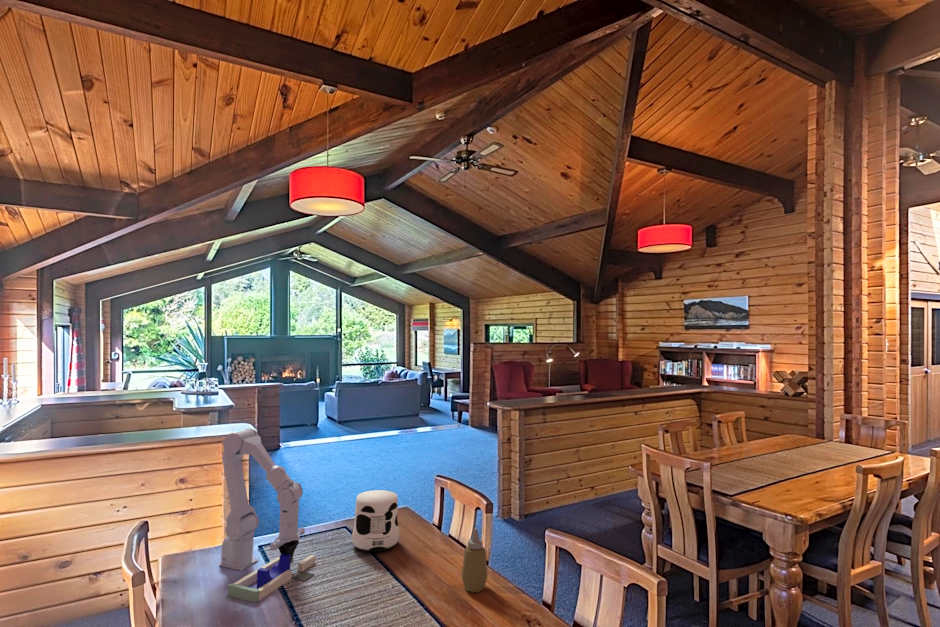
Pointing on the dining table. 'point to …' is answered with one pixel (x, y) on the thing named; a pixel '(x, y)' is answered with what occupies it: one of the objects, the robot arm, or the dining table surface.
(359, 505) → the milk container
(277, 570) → the cable clip
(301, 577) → the mat
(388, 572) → the dining table surface
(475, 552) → the squeeze bottle
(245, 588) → the lane
